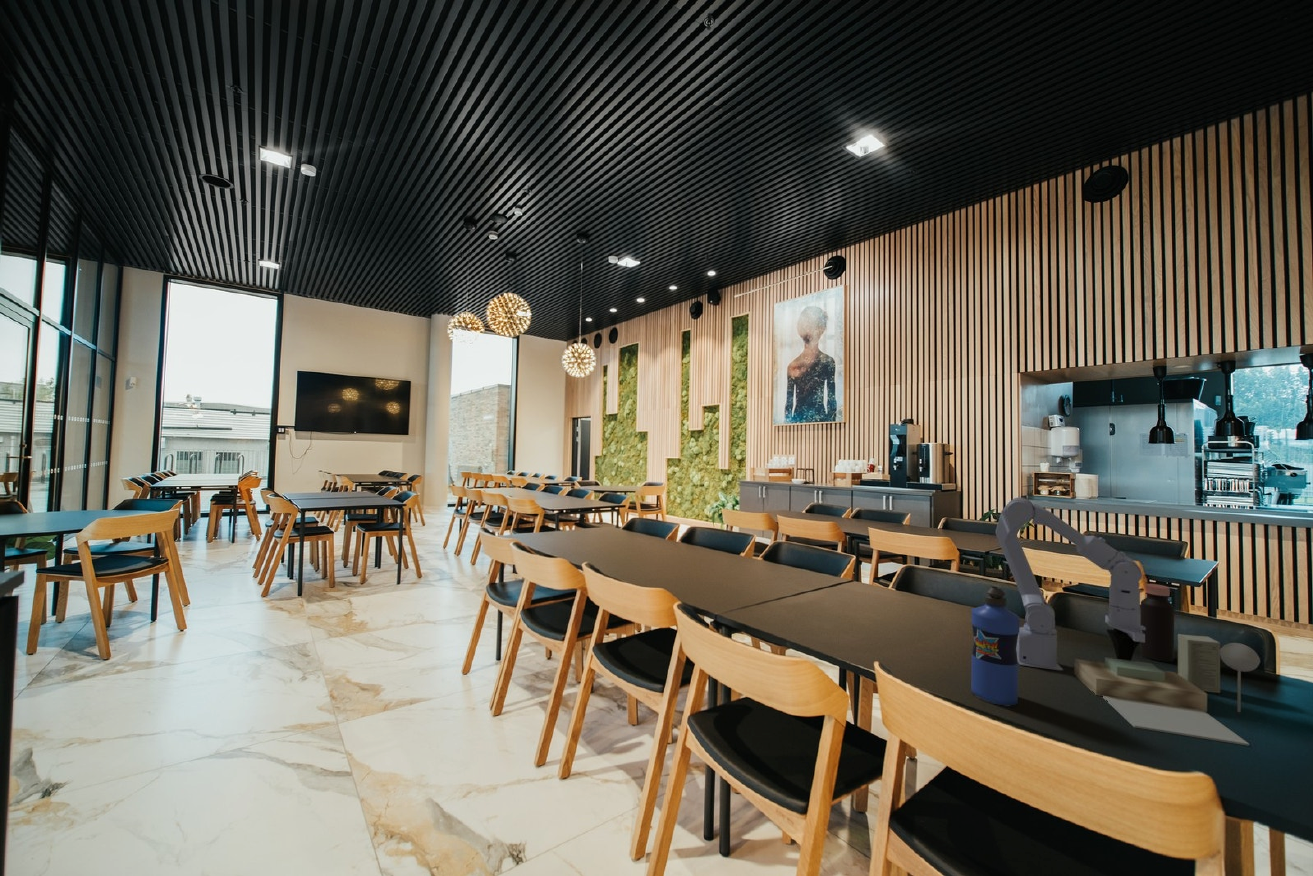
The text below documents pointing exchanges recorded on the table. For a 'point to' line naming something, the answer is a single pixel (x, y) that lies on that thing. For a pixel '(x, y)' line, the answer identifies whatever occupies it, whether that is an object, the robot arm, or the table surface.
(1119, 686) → the riser
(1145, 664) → the tile
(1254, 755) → the table surface
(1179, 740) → the table surface
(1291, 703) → the table surface
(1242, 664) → the lollipop
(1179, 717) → the mat
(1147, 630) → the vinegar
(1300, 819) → the table surface
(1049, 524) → the robot arm
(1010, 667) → the water bottle
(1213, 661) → the skincare box
